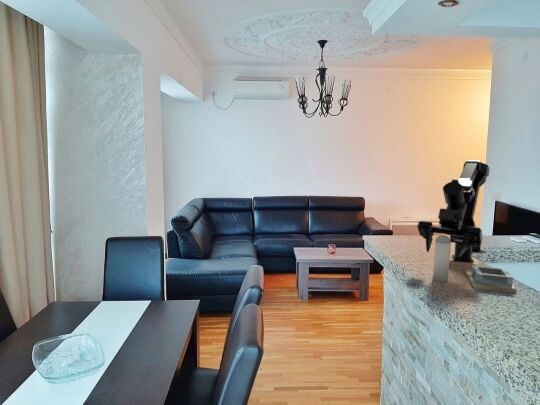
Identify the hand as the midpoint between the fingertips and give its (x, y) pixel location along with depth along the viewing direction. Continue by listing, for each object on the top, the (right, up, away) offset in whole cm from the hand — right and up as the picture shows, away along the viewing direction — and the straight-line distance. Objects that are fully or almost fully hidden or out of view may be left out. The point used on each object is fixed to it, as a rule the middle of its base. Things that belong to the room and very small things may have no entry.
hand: (442, 253), depth 123 cm
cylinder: (0, -8, +1) cm, 8 cm away
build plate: (+30, -4, +39) cm, 50 cm away
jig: (+14, -9, -1) cm, 16 cm away
